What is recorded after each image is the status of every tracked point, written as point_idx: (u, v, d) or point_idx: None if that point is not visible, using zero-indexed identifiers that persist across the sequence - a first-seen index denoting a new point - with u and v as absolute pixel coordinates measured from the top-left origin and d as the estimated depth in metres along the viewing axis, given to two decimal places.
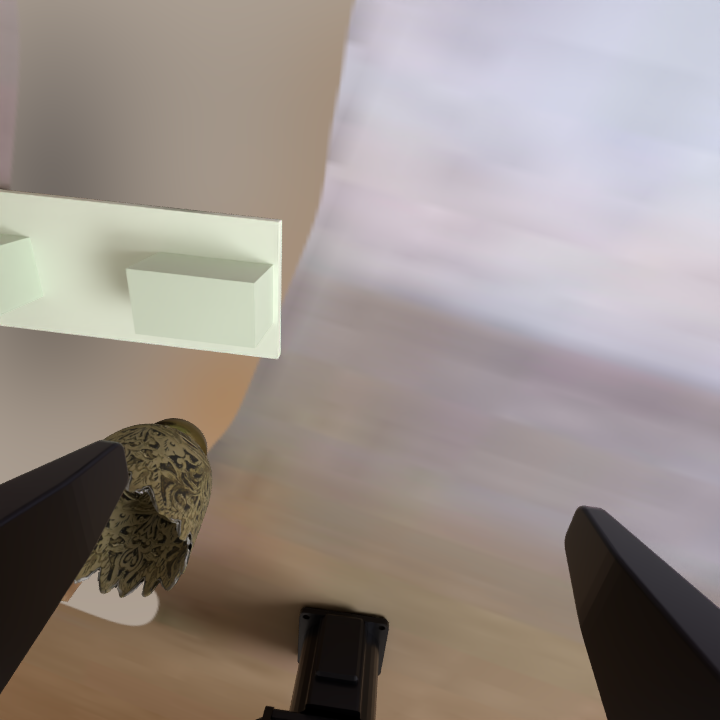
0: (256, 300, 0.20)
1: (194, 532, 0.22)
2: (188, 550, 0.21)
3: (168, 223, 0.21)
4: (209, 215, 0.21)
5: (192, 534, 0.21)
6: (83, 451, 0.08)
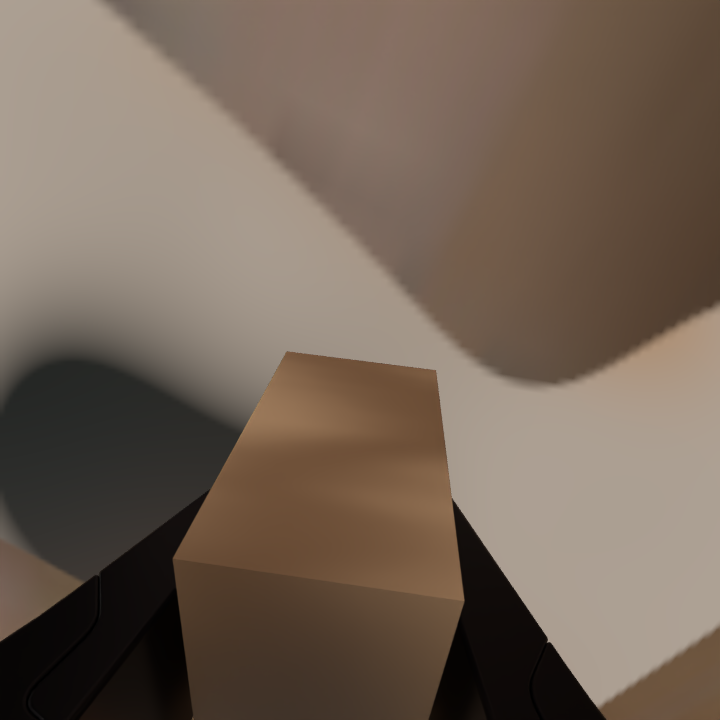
0: None
1: None
2: None
3: None
4: None
5: None
6: None
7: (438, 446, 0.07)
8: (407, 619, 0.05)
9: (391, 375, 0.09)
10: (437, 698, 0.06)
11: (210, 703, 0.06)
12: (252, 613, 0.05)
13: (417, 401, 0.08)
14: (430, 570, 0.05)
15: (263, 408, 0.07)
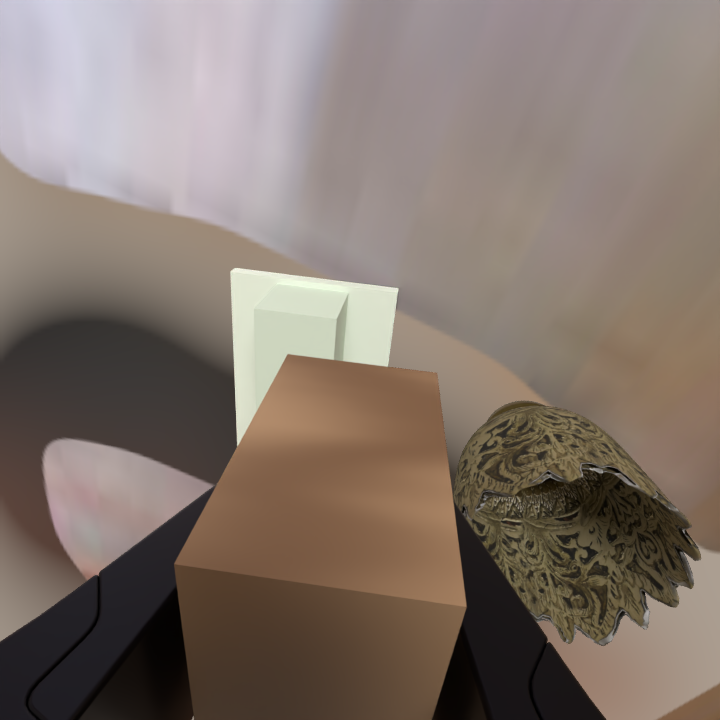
0: (280, 308, 0.17)
1: (593, 456, 0.14)
2: (618, 474, 0.13)
3: (247, 381, 0.21)
4: (233, 342, 0.20)
5: (590, 460, 0.14)
6: None
7: (440, 450, 0.07)
8: (409, 624, 0.05)
9: (392, 378, 0.09)
10: None
11: (211, 708, 0.06)
12: (253, 619, 0.05)
13: (418, 404, 0.08)
14: (432, 575, 0.05)
15: (264, 411, 0.07)
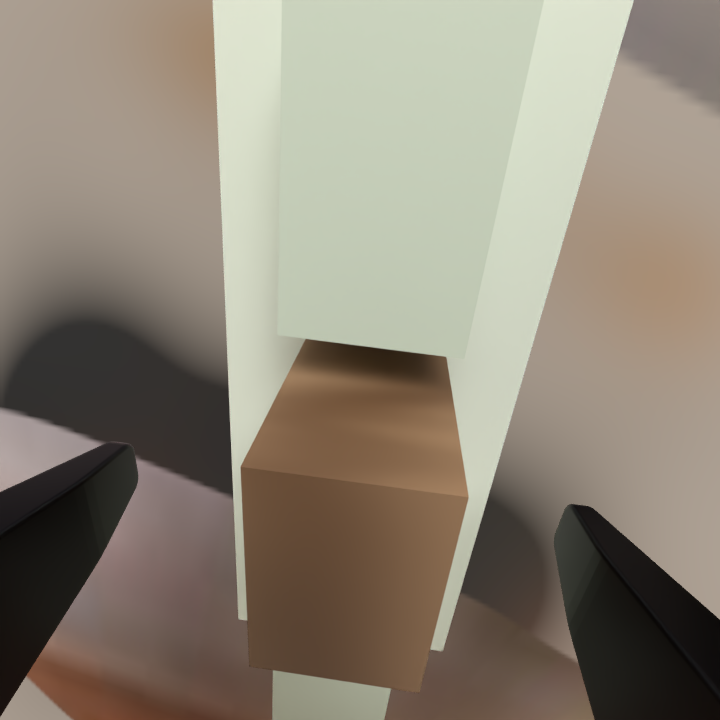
0: None
1: None
2: None
3: (250, 247, 0.10)
4: (220, 145, 0.09)
5: None
6: (93, 453, 0.08)
7: (446, 396, 0.08)
8: (424, 515, 0.06)
9: None
10: None
11: (261, 600, 0.07)
12: (300, 514, 0.06)
13: (428, 363, 0.09)
14: (441, 478, 0.06)
15: (297, 367, 0.09)
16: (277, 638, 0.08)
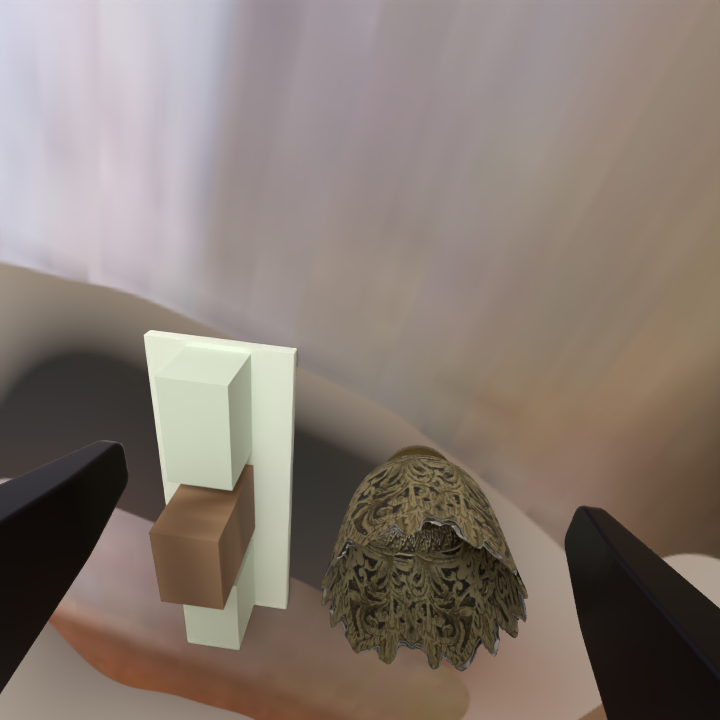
0: (178, 375, 0.19)
1: (437, 510, 0.16)
2: (455, 526, 0.16)
3: None
4: (152, 395, 0.22)
5: (433, 514, 0.16)
6: (83, 451, 0.08)
7: (235, 499, 0.22)
8: (206, 547, 0.20)
9: None
10: None
11: (161, 575, 0.21)
12: (169, 546, 0.20)
13: (237, 480, 0.23)
14: (213, 535, 0.20)
15: (181, 485, 0.22)
16: (169, 590, 0.21)
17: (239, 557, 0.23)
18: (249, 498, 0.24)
